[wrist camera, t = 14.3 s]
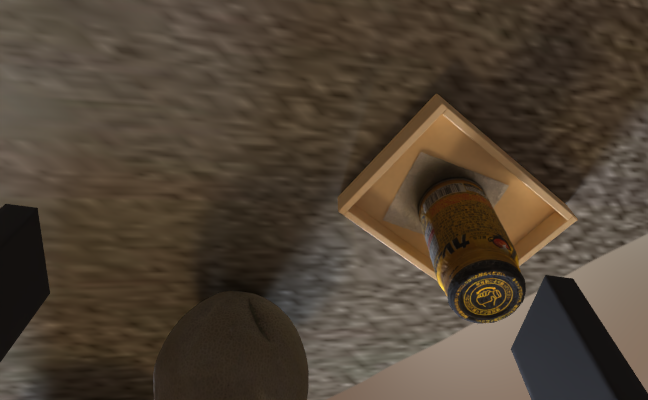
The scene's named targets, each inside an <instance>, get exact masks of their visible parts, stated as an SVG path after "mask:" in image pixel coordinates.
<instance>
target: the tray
mask: <svg viewBox="0 0 648 400" xmlns="http://www.w3.org/2000/svg"><path fill="white" fill-rule="evenodd" d="M420 152H423V153H425V154H428V155H430V156H433V157H436V158H439V159H442V160H444V161H447V162H449V163H452V164H454V165H456V166H459V167H463V168H465V169H468V170H471V171H473V172H476V173H479V174H481V175H484V176H486V177H489V178H491V179H494V180H496V181H499V182H501V183H504V184H506V185H509V187H508V188H507V190H506V191H505V193H504V194H503V196H502V197H501V199H500V200H499V201H498V203H497V204H496V205H495V207H494V208H493V209H494V210H495V212H496V214H497V216H498V218H499V220H500V222H501V224H502V225H503V227H504V230H505V231H506V233H507V235H508V237H509V239H510V241H511V243H512V244H513V246H514V248H515V250H516V253H517V255H518V259H519V266H520V265H521V264H523V263H524V262H525V261H526V260H528V259H529V258H530V257H531V256H533V255H534V254H535V253H536V252H538V251H539V250H540V249H541V248H543V247H544V246H545V245H546V244H548V243H549V242H550V241H551V240H553V239H554V238H555V237H556V236H558V235H559V234H560V233H561V232H563V231H564V230H565V229H566V228H568V227H569V226H570V225H571V224H573V223H574V222H575V221H576V220H577V218H576V216H575V215H574V214H573V213H572V211H571V210H570V209H569V208H568V206H567V205H566V204H565V203H564V202H563V201H561V200H560V199H559V198H558V197H557V196H556V195H554V194H553V193H552V192H551V191H550V190H549V189H548V188H546V187H545V186H544V185H543V184H542V183H541V182H539V181H538V180H537V179H536V178H535V177H534V176H532V175H531V174H530V173H529V172H528V171H527V170H525V169H524V168H523V167H522V166H521V165H520V164H518V163H517V162H516V161H515V160H514V159H513V158H511V157H510V156H509V155H508V154H507V153H506V152H505V151H503V150H502V149H501V148H500V147H499V146H498V145H496V144H495V143H494V142H493V141H492V140H491V139H489V138H488V137H487V136H486V135H485V134H484V133H482V132H481V131H480V130H479V129H478V128H477V127H475V126H474V125H473V124H472V123H471V122H470V121H469V120H467V119H466V118H465V117H464V116H463V115H462V114H460V113H459V112H458V111H457V110H456V109H455V108H453V107H452V106H451V105H450V104H449V103H448V102H446V101H445V100H444V99H443V98H442V97H441V96H439V95H438V94H437V93H436V94H435V95H434V96H433V97H432V98H431V99H430V100H429V101H428V102H427V103H426V104H425V105H424V107H423V108H422V109H421V110H420V111H419V112H418V113H417V114H416V115H415V116H414V117H413V118H412V119H411V120H410V121H409V122H408V123H407V124H406V126H405V127H404V128H403V129H402V130H401V131H400V132H399V133H398V134H397V135H396V136H395V137H394V138H393V139H392V140H391V141H390V142H389V143H388V145H387V146H386V147H385V148H384V149H383V150H382V151H381V152H380V153H379V154H378V155H377V156H376V157H375V158H374V159H373V160H372V161H371V162H370V164H369V165H368V166H367V167H366V168H365V169H364V170H363V171H362V172H361V173H360V174H359V175H358V176H357V177H356V178H355V179H354V180H353V181H352V183H351V184H350V185H349V186H348V187H347V188H346V189H345V190H344V191H343V192H342V193H341V194H340V195H339V196H338V211H339V212H340V213H341V214H343V215H344V216H346V217H347V218H348V219H350V220H351V221H353V222H354V223H356V224H357V225H358V226H360V227H361V228H363V229H364V230H365V231H367V232H368V233H370V234H371V235H373V236H374V237H375V238H377V239H378V240H380V241H381V242H383V243H384V244H385V245H387V246H388V247H390V248H391V249H393V250H394V251H395V252H397V253H398V254H400V255H401V256H402V257H404V258H405V259H407V260H408V261H410V262H411V263H412V264H414V265H415V266H417V267H418V268H420V269H421V270H422V271H424V272H425V273H427V274H428V275H430V276H431V277H432V278H434V279H435V280H437V278H436V274H435V271H434V268H433V264H432V261H431V257H430V254H429V250H428V246H427V243H426V240H425V236H424V235H423V234H420V233H417V232H414V231H411V230H409V229H406V228H402V227H400V226H398V225H395V224H391V223H389V222H386V221H384V220H383V218H384V217H385V215H386V213H387V211H388V209H389V207H390V205H391V204H392V202H393V200H394V198H395V196H396V194H397V191H398V190H399V189H400V187H401V185H402V183H403V181H404V180H405V178H406V176H407V175H408V173H409V171H410V169H411V167H412V166H413V164H414V162H415V160H416V159H417V157H418V155H419V154H420Z"/></svg>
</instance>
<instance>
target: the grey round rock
mask: <svg viewBox="0 0 648 400" xmlns="http://www.w3.org/2000/svg"><path fill="white" fill-rule="evenodd" d="M153 382H154V400H307V394H308V364H307V358H306V354H305V350H304V347H303V344H302V341H301V338H300V336H299V334H298V332H297V330H296V328H295V326H294V325H293V323H292V321H291V320H290V319H289V318H288V316H287V315H286V314H285V313H284V312H283V311H282V310H281V309H280V308H279V307H278V306H276V305H275V304H273V303H272V302H270V301H269V300H267V299H265V298H264V297H261V296H259V295H256V294H253V293H247V292H240V291H226V292H220V293H217V294H215V295H213V296H211V297H209V298H207V299H205V300H204V301H202V302H201V303H199V304H198V305H196V306H195V307H194V308H193V309H191V310H190V311H189V312H188V313H187V314H186V315H184V316H183V317H182V319H181V320H180V321H179V322H178V323H177V324H176V325H175V327H174V328H173V329H172V331H171V332H170V334H169V335H168V337H167V339H166V341H165V343H164V344H163V346H162V349H161V351H160V353H159V355H158V358H157V361H156V364H155V367H154V375H153Z"/></svg>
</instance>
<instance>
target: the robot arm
mask: <svg viewBox="0 0 648 400" xmlns="http://www.w3.org/2000/svg"><path fill="white" fill-rule="evenodd" d="M49 294H50V290H49V283H48V276H47V269H46V263H45V256H44V249H43V242H42V235H41V229H40V222H39V215H38V208H33V207H26V206H18V205H11V204H5V205H4V206H3V207H2V208H1V209H0V362H1V361H2V359H3V358H4V356H5V355H6V354H7V352H8V351H9V350H10V348H11V347H12V345H13V344H14V343H15V341H16V340H17V338H18V337H19V336H20V334H21V333H22V331H23V330H24V329H25V327H26V326H27V324H28V323H29V322H30V320H31V319H32V318H33V316H34V315H35V313H36V312H37V311H38V309H39V308H40V306H41V305H42V304H43V302H44V301H45V299H46V298H47V297H48V295H49ZM511 350H512V353H513V355H514V358H515V360H516V363H517V365H518V368H519V370H520V373H521V375H522V378H523V380H524V382H525V385H526V387H527V390H528V392H529V395H530V397H531V400H648V393H647V392H646V390H645V389H644V387H643V386H642V384H641V382H640V381H639V379H638V378H637V376H636V375H635V373H634V372H633V370H632V369H631V367H630V366H629V364H628V362H627V361H626V359H625V358H624V356H623V355H622V353H621V352H620V350H619V349H618V347H617V345H616V344H615V342H614V341H613V339H612V338H611V336H610V335H609V333H608V332H607V330H606V329H605V327H604V326H603V324H602V322H601V321H600V319H599V318H598V316H597V315H596V313H595V312H594V310H593V309H592V307H591V305H590V304H589V302H588V301H587V299H586V298H585V296H584V295H583V293H582V292H581V290H580V289H579V287H578V286H577V284H576V283H575V281H574V279H572V278H564V277H556V276H549V275H545V277H544V279H543V281H542V284H541V286H540V288H539V290H538V292H537V294H536V297H535V299H534V301H533V303H532V305H531V307H530V310H529V311H528V314H527V316H526V318H525V320H524V322H523V324H522V326H521V328H520V331H519V333H518V335H517V337H516V339H515V341H514V343H513V346H512V348H511Z"/></svg>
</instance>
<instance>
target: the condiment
mask: <svg viewBox="0 0 648 400" xmlns="http://www.w3.org/2000/svg"><path fill="white" fill-rule="evenodd" d="M508 187H509V185H506V184H504V183H501V182H499V181H496V180H494V179H491V178H489V177H486V176H484V175H481V174H479V173H476V172H473V171H471V170H468V169H465V168H463V167H459V166H456V165H454V164H452V163H449V162H447V161H444V160H442V159H439V158H436V157H433V156H430V155H428V154H425V153H423V152H420V154H419V155H418V157H417V159H416V160H415V162H414V164H413V166H412V167H411V169H410V171H409V173H408V175H407V176H406V178H405V180H404V181H403V183H402V185H401V187H400V189H399V190H398V191H397V194H396V196H395V198H394V200H393V202H392V204H391V205H390V207H389V209H388V211H387V213H386V215H385V217H384V218H383V220H384V221H386V222H389V223H391V224H395V225H398V226H400V227H402V228H406V229H409V230H411V231H414V232H417V233H420V234H423V235H424V236H425V240H426V243H427V246H428V250H429V254H430V257H431V261H432V264H433V268H434V271H435V274H436V278H437V281H438V284H439V285H440V286H441V288H442V289H443V290H444V291H445V293H446V295H447V297H448V303H449V305H450V307H451V308H452V310H454V312H455V313H456V314H457V315H458V316H459V317H461V318H463V319H465V320H467V321H470V322H474V323H492V322H497V321H499V320H501V319H504V318H506V317H508V316H509V315H511V314H512V313H513V312H515V311H516V309H517V308H518V307H519V306H520V304H521V303H522V302H523V300H524V296H525V292H526V289H525V280H524V278H523V276H522V274H521V272H520V268H519V259H518V255H517V253H516V250H515V248H514V246H513V244H512V243H511V241H510V239H509V237H508V235H507V233H506V231H505V230H504V227H503V225H502V224H501V222H500V220H499V218H498V216H497V214H496V212H495V210H494V209H493V208H494V207H495V205H496V204H497V203H498V201H499V200H500V199H501V197H502V196H503V194H504V193H505V191H506V190H507V188H508Z"/></svg>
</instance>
